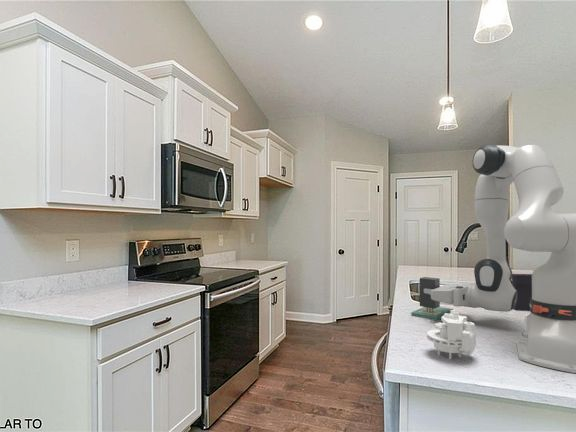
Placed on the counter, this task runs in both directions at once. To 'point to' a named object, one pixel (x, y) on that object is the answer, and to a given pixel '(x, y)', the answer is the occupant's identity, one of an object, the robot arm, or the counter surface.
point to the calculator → (522, 290)
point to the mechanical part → (453, 334)
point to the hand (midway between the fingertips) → (427, 289)
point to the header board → (431, 312)
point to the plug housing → (426, 298)
